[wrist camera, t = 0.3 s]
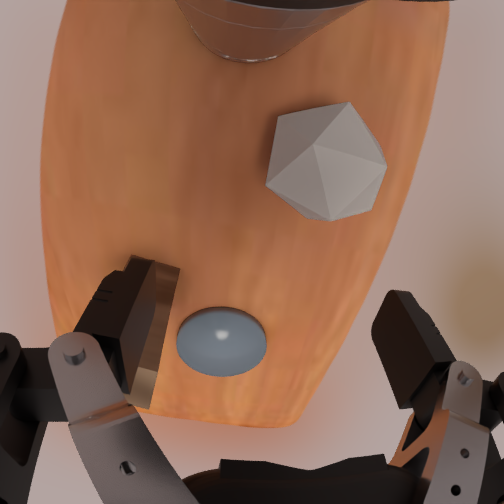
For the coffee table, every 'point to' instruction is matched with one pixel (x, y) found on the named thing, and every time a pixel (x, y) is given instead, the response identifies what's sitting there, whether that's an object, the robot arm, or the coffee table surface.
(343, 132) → the die
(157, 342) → the walnut block
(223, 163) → the coffee table surface
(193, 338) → the slate dish
